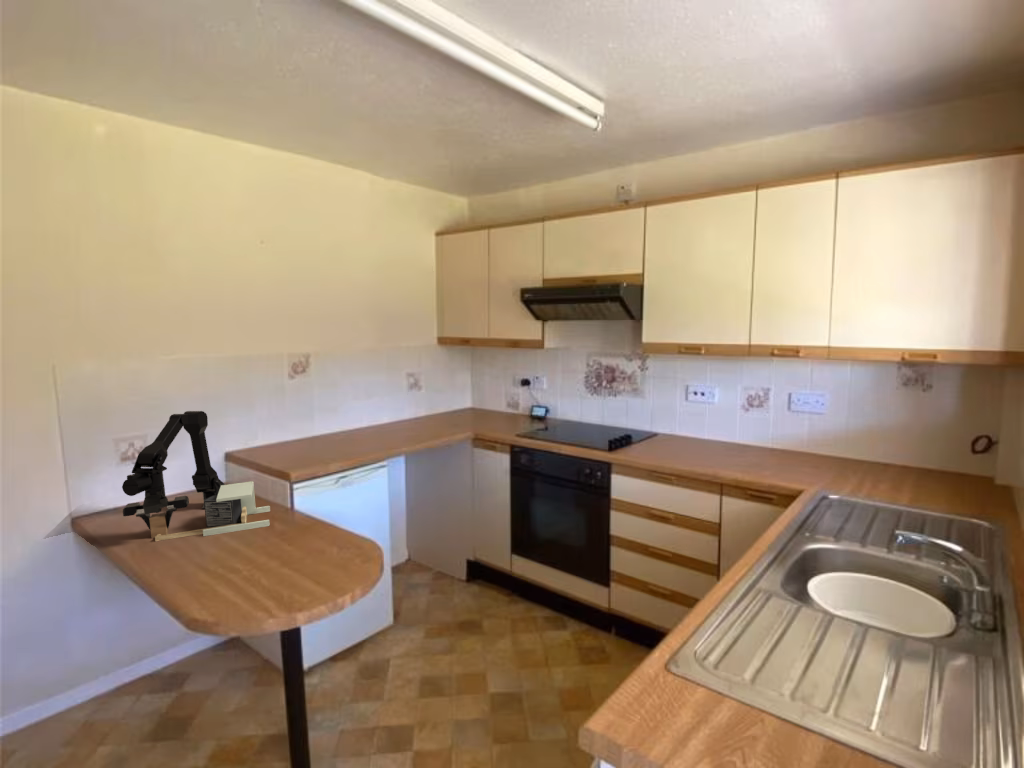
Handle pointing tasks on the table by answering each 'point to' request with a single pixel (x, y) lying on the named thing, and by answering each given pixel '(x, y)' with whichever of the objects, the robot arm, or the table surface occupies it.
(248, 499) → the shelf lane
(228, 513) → the small box
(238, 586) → the table surface
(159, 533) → the wooden block with bar
